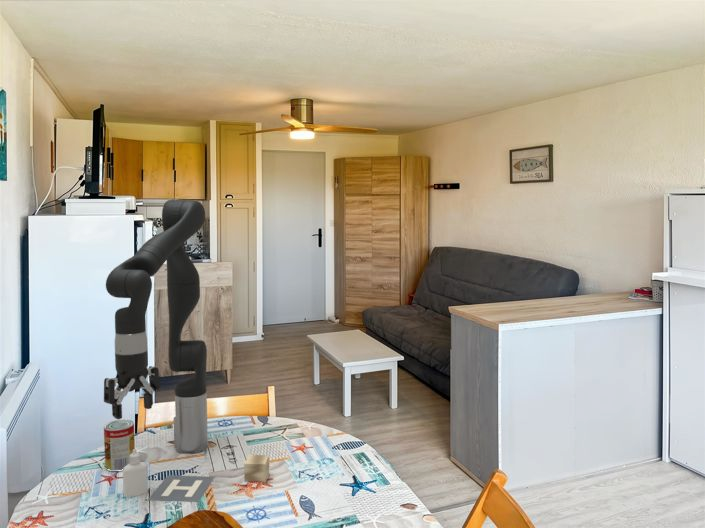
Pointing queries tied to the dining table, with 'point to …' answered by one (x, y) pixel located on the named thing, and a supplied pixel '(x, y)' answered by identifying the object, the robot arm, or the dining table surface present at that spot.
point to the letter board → (181, 488)
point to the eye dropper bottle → (135, 476)
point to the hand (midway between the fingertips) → (133, 413)
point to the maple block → (256, 468)
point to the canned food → (118, 443)
